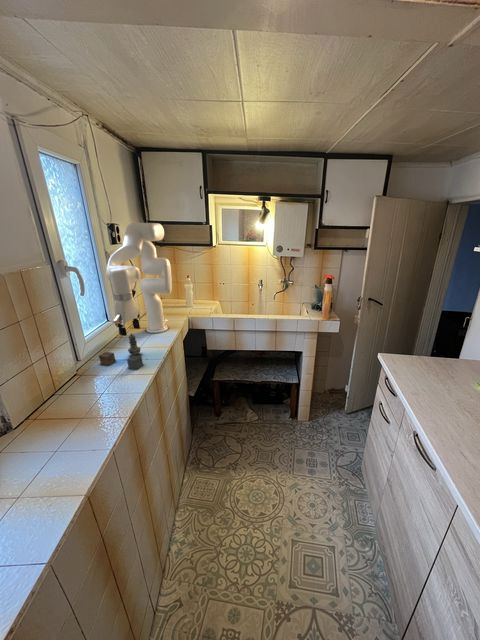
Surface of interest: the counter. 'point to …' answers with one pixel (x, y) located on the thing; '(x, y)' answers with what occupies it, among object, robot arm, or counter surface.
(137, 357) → the slate block
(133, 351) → the stone chess piece
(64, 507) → the counter surface
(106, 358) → the walnut block
